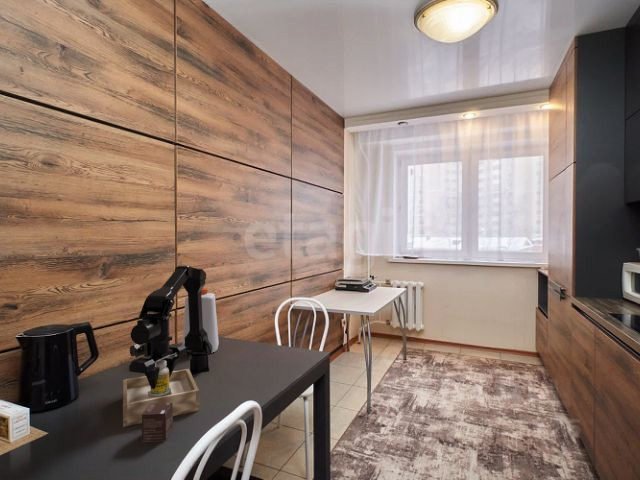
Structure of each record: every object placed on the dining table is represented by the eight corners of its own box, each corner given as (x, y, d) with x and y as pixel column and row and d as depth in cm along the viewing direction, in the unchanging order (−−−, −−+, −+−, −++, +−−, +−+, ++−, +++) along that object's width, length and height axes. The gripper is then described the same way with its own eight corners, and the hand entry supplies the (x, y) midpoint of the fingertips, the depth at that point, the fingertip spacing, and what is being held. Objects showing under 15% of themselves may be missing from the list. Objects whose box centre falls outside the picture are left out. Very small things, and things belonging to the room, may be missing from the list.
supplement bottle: (167, 387, 117) (167, 358, 117) (171, 394, 112) (170, 363, 112) (149, 391, 114) (148, 361, 114) (152, 398, 109) (151, 366, 109)
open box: (188, 385, 127) (188, 368, 127) (199, 410, 109) (199, 390, 109) (123, 398, 117) (123, 379, 117) (123, 427, 100) (123, 405, 99)
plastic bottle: (180, 356, 157) (179, 291, 157) (186, 346, 172) (185, 286, 172) (216, 354, 160) (216, 290, 160) (219, 344, 175) (218, 285, 175)
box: (150, 430, 98) (150, 403, 98) (173, 429, 99) (173, 402, 99) (141, 443, 92) (140, 414, 92) (165, 441, 93) (165, 413, 92)
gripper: (159, 325, 124) (159, 371, 124) (113, 341, 106) (114, 394, 107) (187, 327, 121) (187, 374, 121) (144, 344, 103) (145, 399, 103)
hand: (160, 384), depth 113 cm, fingers closed on supplement bottle, 5 cm apart
